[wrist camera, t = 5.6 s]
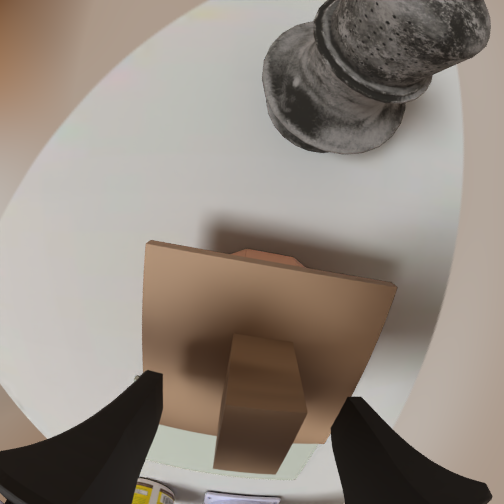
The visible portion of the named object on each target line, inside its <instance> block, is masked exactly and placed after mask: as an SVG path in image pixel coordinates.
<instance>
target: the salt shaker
mask: <svg viewBox="0 0 504 504" xmlns="http://www.w3.org/2000/svg"><path fill="white" fill-rule="evenodd" d="M490 24H491V23H490V16H489V13H488V9H487V7H486V4H485V2H484V0H327V1H326V2H325V3H324V4H323V5H322V6H321V7H320V8H319V10H318V12H317V14H316V17H315V19H314V21H312V22H308V23H304V24H300V25H296V26H294V27H293V28H291V29H289V30H287V31H286V32H284V33H282V34H281V35H280V36H279V37H278V38H277V39H276V40H275V42H274V43H273V44H272V45H271V46H270V48H269V51H268V53H267V55H266V57H265V59H264V65H263V74H262V81H263V86H264V91H265V96H266V103H267V108H268V114H269V116H270V118H271V120H272V122H273V124H274V126H275V127H276V128H277V130H278V131H279V132H280V133H281V134H282V136H283V137H284V138H286V139H287V140H289V141H290V142H291V143H293V144H294V145H296V146H298V147H301V148H303V149H305V150H308V151H313V152H320V153H326V152H333V153H339V154H353V153H363V152H366V151H369V150H371V149H374V148H377V147H379V146H380V145H382V144H383V143H384V142H385V141H387V140H388V139H389V138H391V137H392V136H393V134H394V133H395V131H396V130H397V128H398V127H399V125H400V124H401V121H402V117H403V114H404V111H405V102H409V101H412V100H415V99H416V98H418V97H419V96H420V95H422V94H423V93H424V92H425V91H426V90H427V88H428V86H429V85H430V83H431V80H432V75H433V74H436V73H438V72H440V71H442V70H444V69H447V68H449V67H451V66H453V65H456V64H458V63H460V62H463V61H465V60H467V59H470V58H472V57H473V56H475V55H476V54H478V53H479V52H480V51H481V50H482V49H483V48H485V47H486V45H487V42H488V40H489V37H490V29H491V25H490Z"/></svg>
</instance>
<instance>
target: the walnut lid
mask: <svg viewBox="0 0 504 504" xmlns="http://www.w3.org/2000/svg"><path fill="white" fill-rule="evenodd" d="M396 290H397V287H396V286H395V285H394V284H393V283H392V282H386V281H381V280H375V279H369V278H363V277H357V276H351V275H345V274H340V273H334V272H328V271H322V270H316V269H311V268H305V267H299V266H293V265H288V264H282V263H276V262H271V261H265V260H259V259H254V258H248V257H242V256H237V255H231V254H226V253H220V252H214V251H209V250H203V249H198V248H192V247H187V246H181V245H176V244H170V243H165V242H159V241H154V240H150V241H149V242H148V243H146V247H145V261H144V278H143V306H142V352H143V373H144V372H145V371H146V370H150V371H154V372H158V373H162V374H163V411H162V415H161V419H160V422H159V424H160V425H164V426H168V427H172V428H176V429H181V430H186V431H190V432H196V433H201V434H206V435H212V436H217V438H216V446H215V455H214V463H213V469H218V470H225V471H234V472H243V473H255V474H272V475H276V473H277V472H278V470H279V468H280V466H281V464H282V463H283V461H284V459H285V457H286V455H287V453H288V451H289V450H290V448H291V446H292V444H324V443H325V442H326V440H327V438H328V437H329V435H330V433H331V429H330V428H331V426H332V425H333V423H334V421H335V419H336V417H337V416H338V414H339V412H340V410H341V408H342V406H343V404H344V403H345V401H346V399H347V397H351V396H352V394H353V392H354V390H355V388H356V386H357V384H358V382H359V380H360V378H361V376H362V374H363V372H364V369H365V367H366V365H367V363H368V361H369V359H370V356H371V354H372V352H373V350H374V347H375V345H376V343H377V340H378V338H379V335H380V333H381V331H382V328H383V326H384V323H385V320H386V318H387V315H388V313H389V310H390V307H391V304H392V302H393V299H394V296H395V293H396Z"/></svg>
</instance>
